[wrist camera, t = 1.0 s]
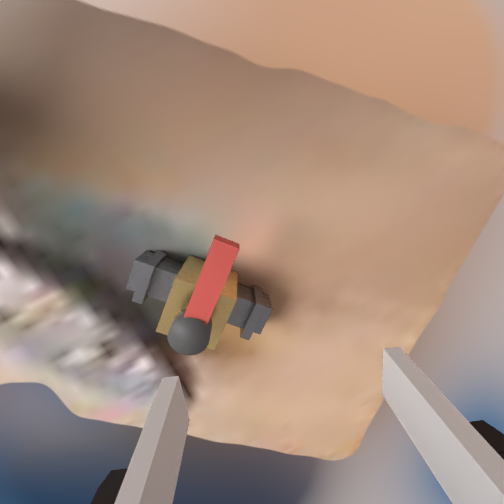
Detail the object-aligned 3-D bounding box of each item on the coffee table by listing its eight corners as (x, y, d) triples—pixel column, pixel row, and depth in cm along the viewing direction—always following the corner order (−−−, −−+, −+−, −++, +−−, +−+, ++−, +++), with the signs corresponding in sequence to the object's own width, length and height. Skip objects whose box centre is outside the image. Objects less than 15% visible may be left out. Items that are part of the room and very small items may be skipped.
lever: (204, 344, 28) (201, 360, 26) (168, 333, 27) (162, 347, 25) (247, 245, 25) (247, 253, 23) (208, 230, 24) (204, 236, 22)
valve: (135, 285, 36) (99, 323, 27) (149, 240, 34) (116, 264, 25) (254, 326, 38) (258, 373, 29) (273, 286, 37) (284, 323, 28)
